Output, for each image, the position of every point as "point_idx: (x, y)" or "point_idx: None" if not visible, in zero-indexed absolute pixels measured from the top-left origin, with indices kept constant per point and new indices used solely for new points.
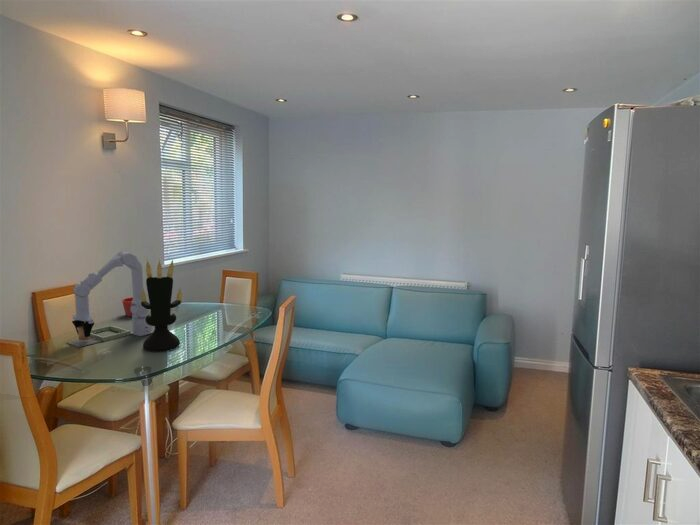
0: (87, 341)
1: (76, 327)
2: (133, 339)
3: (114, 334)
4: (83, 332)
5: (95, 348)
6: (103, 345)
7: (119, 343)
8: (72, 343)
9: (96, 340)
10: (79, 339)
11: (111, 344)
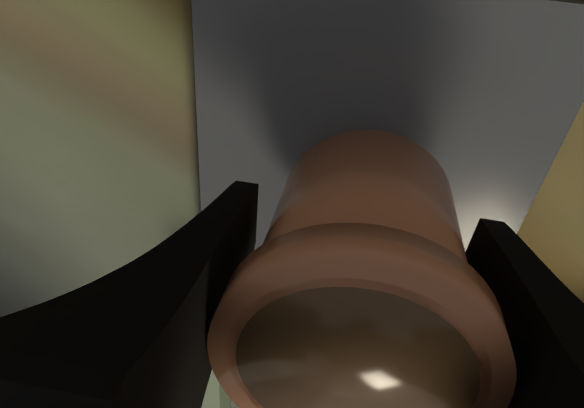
0: None
1: (549, 324)
2: None
3: (209, 397)
4: (276, 235)
5: (2, 62)
6: (67, 185)
7: (32, 284)
8: (459, 20)
9: None
10: (386, 135)
11: (48, 239)
